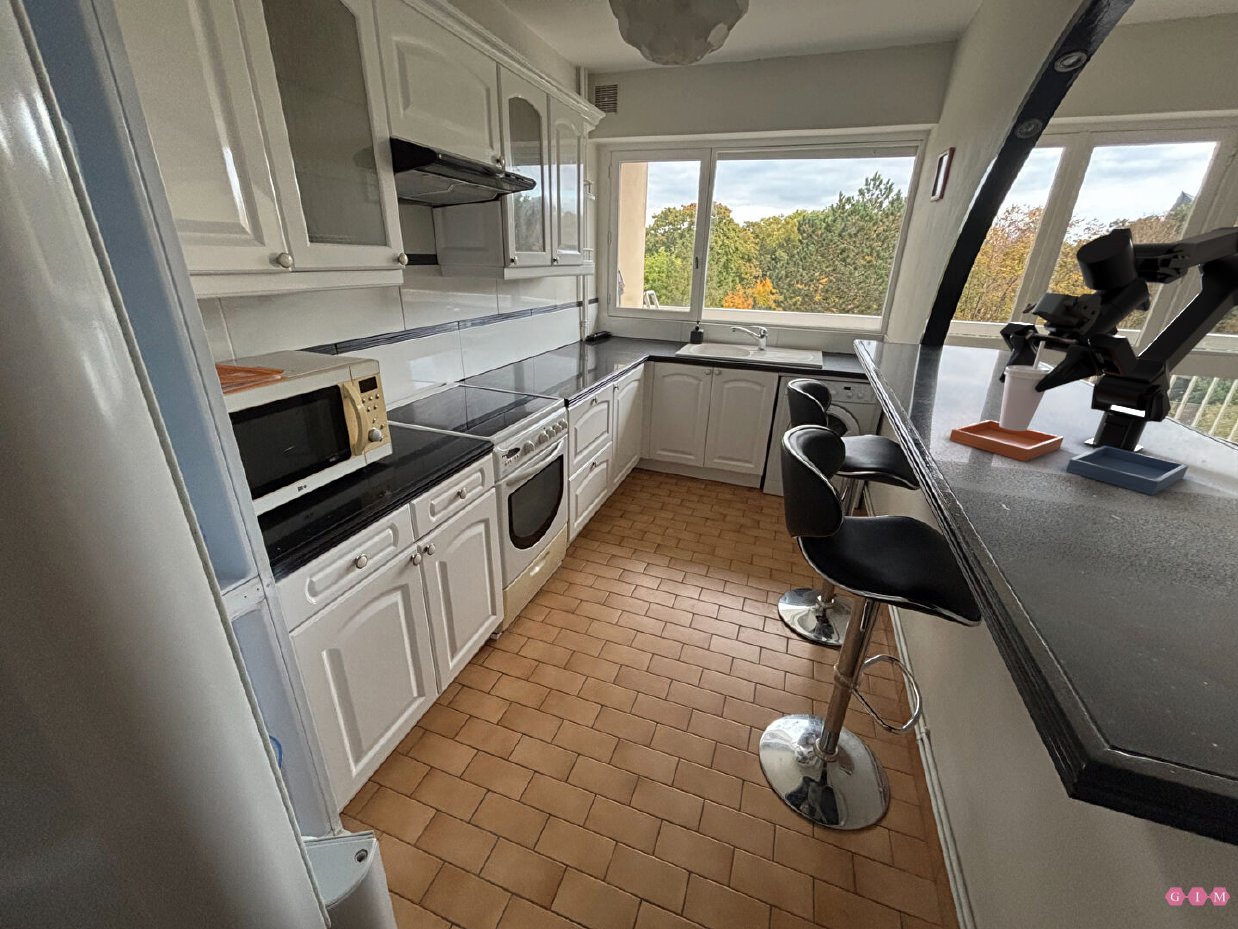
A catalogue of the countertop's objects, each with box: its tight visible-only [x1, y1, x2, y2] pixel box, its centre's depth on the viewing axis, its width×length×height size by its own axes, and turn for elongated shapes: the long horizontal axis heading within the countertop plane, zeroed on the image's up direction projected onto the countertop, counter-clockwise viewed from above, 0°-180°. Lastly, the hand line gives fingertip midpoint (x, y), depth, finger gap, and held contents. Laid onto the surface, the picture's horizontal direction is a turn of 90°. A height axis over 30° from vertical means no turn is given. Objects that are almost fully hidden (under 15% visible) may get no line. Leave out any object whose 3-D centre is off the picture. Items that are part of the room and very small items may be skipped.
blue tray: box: [1065, 446, 1190, 496], centre depth 79 cm, size 13×10×2 cm
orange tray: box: [948, 419, 1065, 462], centre depth 91 cm, size 13×12×2 cm
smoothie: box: [999, 341, 1053, 431], centre depth 81 cm, size 6×6×14 cm
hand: (1017, 385), depth 80 cm, fingers closed on smoothie, 6 cm apart
